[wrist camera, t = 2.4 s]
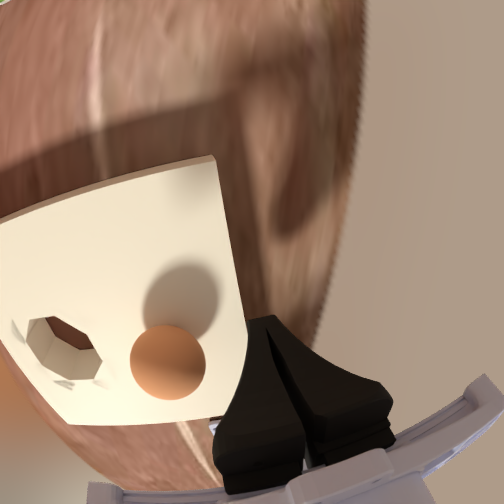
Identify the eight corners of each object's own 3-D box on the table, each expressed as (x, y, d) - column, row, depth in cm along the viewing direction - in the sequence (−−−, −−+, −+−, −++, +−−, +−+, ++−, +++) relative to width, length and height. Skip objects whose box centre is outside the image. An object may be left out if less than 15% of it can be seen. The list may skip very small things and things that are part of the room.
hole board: (254, 376, 20) (262, 407, 18) (75, 397, 19) (68, 423, 16) (212, 154, 13) (215, 160, 11) (-20, 227, 12) (-45, 245, 9)
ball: (210, 355, 15) (217, 408, 11) (149, 365, 14) (144, 417, 11) (194, 303, 13) (195, 358, 10) (124, 316, 13) (110, 369, 9)
